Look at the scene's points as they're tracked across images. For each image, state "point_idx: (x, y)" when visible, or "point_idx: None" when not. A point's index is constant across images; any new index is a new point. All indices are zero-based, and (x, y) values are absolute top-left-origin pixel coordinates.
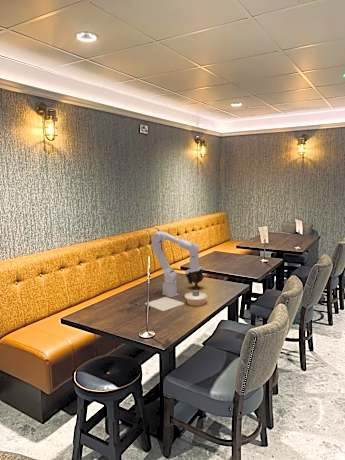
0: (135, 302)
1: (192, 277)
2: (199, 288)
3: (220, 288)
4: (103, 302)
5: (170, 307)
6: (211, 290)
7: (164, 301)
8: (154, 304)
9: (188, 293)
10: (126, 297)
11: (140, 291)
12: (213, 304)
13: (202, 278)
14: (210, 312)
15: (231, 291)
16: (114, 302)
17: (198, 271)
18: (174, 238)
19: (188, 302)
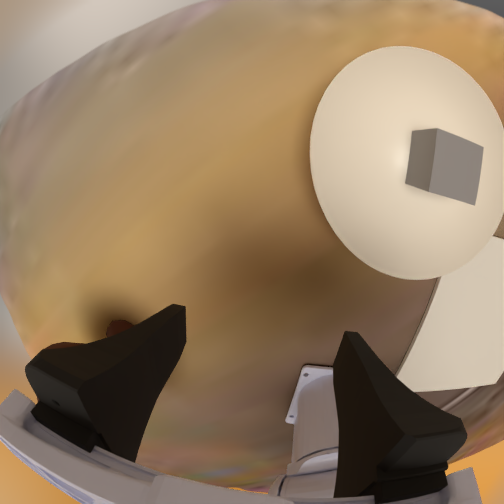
0: (476, 412)
1: (379, 395)
2: (118, 322)
3: (37, 217)
4: (480, 449)
5: None
6: (85, 239)
7: (461, 348)
8: (502, 349)
9: (416, 264)
10: None
11: None
12: (328, 28)
13: (64, 345)
14: (452, 3)
15: (35, 128)
16: (479, 439)
17: (110, 436)
18: None
19: None
